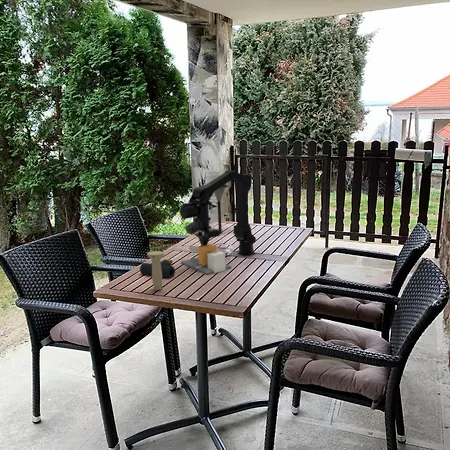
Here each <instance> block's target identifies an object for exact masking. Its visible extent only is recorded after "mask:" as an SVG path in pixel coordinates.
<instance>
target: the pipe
mask: <svg viewBox="0 0 450 450" xmlns="http://www.w3.org/2000/svg"><path fill="white" fill-rule="evenodd" d="M188 249H189V251H191V252H194V253H197V254H198V247H195V246H192V245H190V246H189V248H188ZM207 253H209V252H207Z"/></svg>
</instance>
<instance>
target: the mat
mask: <svg viewBox="0 0 450 450" xmlns="http://www.w3.org/2000/svg"><path fill="white" fill-rule="evenodd" d="M180 264H182V265H184V266H186V267H189V268H191V269H193V270H196V271H198V272H199V273H200V272H201V273H203V274H205V275H212V274H215V273H214V271H213V270H211V269H208V264H206V265H201V264H199V256H198V257H194V258H189V259H185V260H181V261H180ZM225 268H226V270H230V269H232V265H229V264H226V263H225ZM226 270H225V271H226Z"/></svg>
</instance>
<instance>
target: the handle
mask: <svg viewBox="0 0 450 450" xmlns="http://www.w3.org/2000/svg"><path fill="white" fill-rule="evenodd" d="M164 255H165V253H164V251H160V250H159V251H157V250H155V251H154V250H153V251H147V258H150V259H151V264H152V275H151V278H152V284H153V290H156V291H161V290H162V289H163V277H162V270H161V258H163V257H164Z"/></svg>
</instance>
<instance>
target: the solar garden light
mask: <svg viewBox="0 0 450 450" xmlns="http://www.w3.org/2000/svg"><path fill="white" fill-rule="evenodd" d="M229 187H230V186H229V185H227V183H226V184H225V185H223V186H222V187H221V188H219V189H218V190H216V191H215V192H214V193H213V195H214V196H215V198H216V200H217V220H218V221H217V223H218V230H219V231H220V235H222V233H223V231H222V230H223V229H222V207H221V206H222V205H221V201H222V198H223V196H224V192H225V190H226V188H229Z"/></svg>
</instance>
